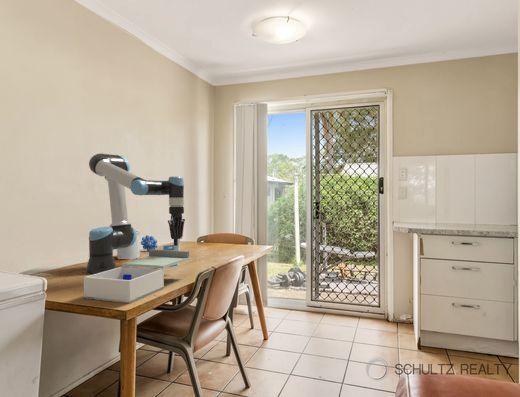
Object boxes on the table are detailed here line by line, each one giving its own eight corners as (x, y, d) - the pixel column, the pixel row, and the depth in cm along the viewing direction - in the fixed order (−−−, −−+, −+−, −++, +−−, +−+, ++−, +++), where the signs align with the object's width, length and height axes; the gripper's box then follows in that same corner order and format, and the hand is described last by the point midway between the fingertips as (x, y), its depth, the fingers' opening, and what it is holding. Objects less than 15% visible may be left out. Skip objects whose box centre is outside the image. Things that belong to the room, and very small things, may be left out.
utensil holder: (135, 260, 226) (135, 232, 226) (112, 260, 226) (112, 232, 226) (143, 256, 241) (143, 230, 241) (121, 256, 241) (121, 230, 241)
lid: (121, 265, 162) (121, 256, 162) (151, 257, 183) (151, 249, 183) (163, 268, 155) (163, 258, 155) (189, 259, 176) (189, 251, 176)
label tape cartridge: (174, 264, 210) (173, 243, 210) (177, 265, 207) (177, 244, 207) (160, 266, 204) (160, 245, 204) (163, 267, 201) (163, 245, 201)
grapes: (140, 252, 254) (140, 236, 254) (140, 251, 261) (140, 235, 261) (157, 252, 258) (157, 235, 258) (157, 250, 264) (157, 234, 264)
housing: (83, 298, 142) (83, 277, 141) (122, 285, 162) (121, 266, 162) (130, 303, 134) (129, 281, 134) (163, 288, 155) (163, 269, 155)
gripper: (176, 205, 193) (177, 249, 193) (163, 206, 181) (163, 253, 181) (189, 205, 191) (189, 249, 191) (176, 206, 178) (176, 253, 178)
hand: (177, 251), depth 186 cm, fingers closed
